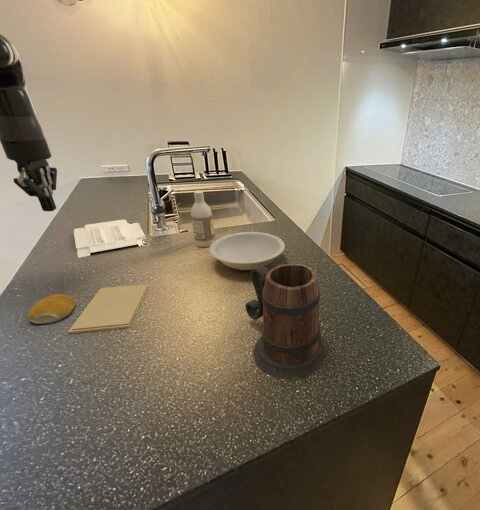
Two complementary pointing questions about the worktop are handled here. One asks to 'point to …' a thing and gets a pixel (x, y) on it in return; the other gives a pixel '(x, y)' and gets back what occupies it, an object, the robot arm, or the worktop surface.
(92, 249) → the tray
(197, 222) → the bath foam
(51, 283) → the worktop surface
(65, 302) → the bread roll
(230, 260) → the soup bowl
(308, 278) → the tankard
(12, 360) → the worktop surface
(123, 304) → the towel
